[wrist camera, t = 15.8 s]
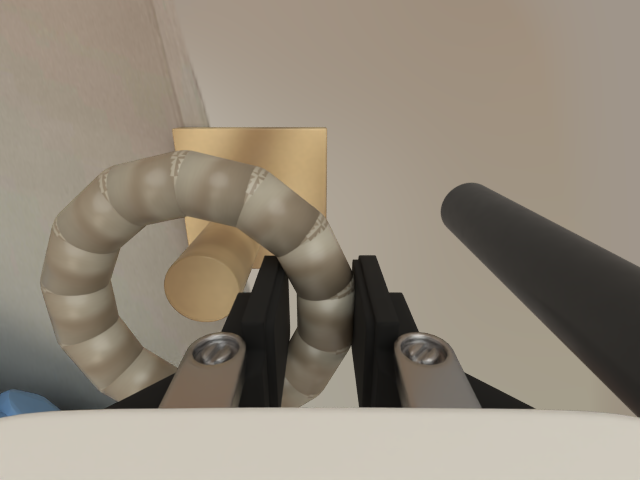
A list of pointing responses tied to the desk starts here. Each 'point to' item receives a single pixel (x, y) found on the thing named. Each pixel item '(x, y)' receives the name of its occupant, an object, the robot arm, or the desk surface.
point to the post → (229, 242)
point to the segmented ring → (207, 204)
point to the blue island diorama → (23, 403)
